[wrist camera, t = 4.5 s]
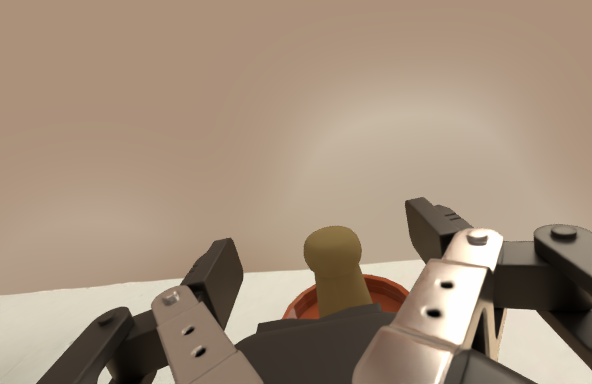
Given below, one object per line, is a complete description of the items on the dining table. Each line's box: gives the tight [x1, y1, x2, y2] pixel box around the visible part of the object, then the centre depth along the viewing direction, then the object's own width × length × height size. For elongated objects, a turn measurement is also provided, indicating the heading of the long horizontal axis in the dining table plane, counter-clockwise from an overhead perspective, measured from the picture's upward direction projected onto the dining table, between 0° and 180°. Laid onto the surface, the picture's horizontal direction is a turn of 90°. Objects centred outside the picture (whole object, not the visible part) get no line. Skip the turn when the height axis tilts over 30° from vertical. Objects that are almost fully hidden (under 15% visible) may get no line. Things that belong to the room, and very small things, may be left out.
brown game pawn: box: [304, 226, 373, 318], centre depth 28 cm, size 6×6×11 cm
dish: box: [282, 274, 409, 319], centre depth 29 cm, size 14×14×2 cm
